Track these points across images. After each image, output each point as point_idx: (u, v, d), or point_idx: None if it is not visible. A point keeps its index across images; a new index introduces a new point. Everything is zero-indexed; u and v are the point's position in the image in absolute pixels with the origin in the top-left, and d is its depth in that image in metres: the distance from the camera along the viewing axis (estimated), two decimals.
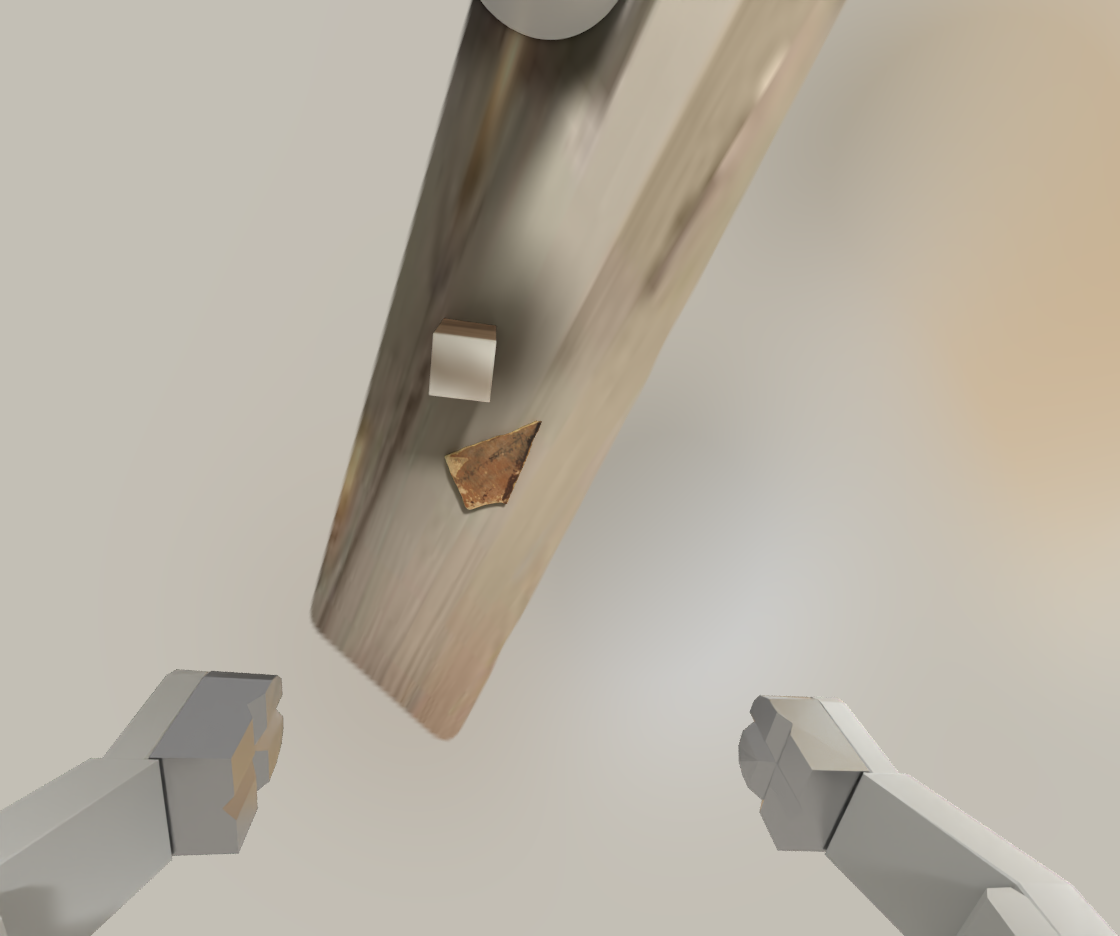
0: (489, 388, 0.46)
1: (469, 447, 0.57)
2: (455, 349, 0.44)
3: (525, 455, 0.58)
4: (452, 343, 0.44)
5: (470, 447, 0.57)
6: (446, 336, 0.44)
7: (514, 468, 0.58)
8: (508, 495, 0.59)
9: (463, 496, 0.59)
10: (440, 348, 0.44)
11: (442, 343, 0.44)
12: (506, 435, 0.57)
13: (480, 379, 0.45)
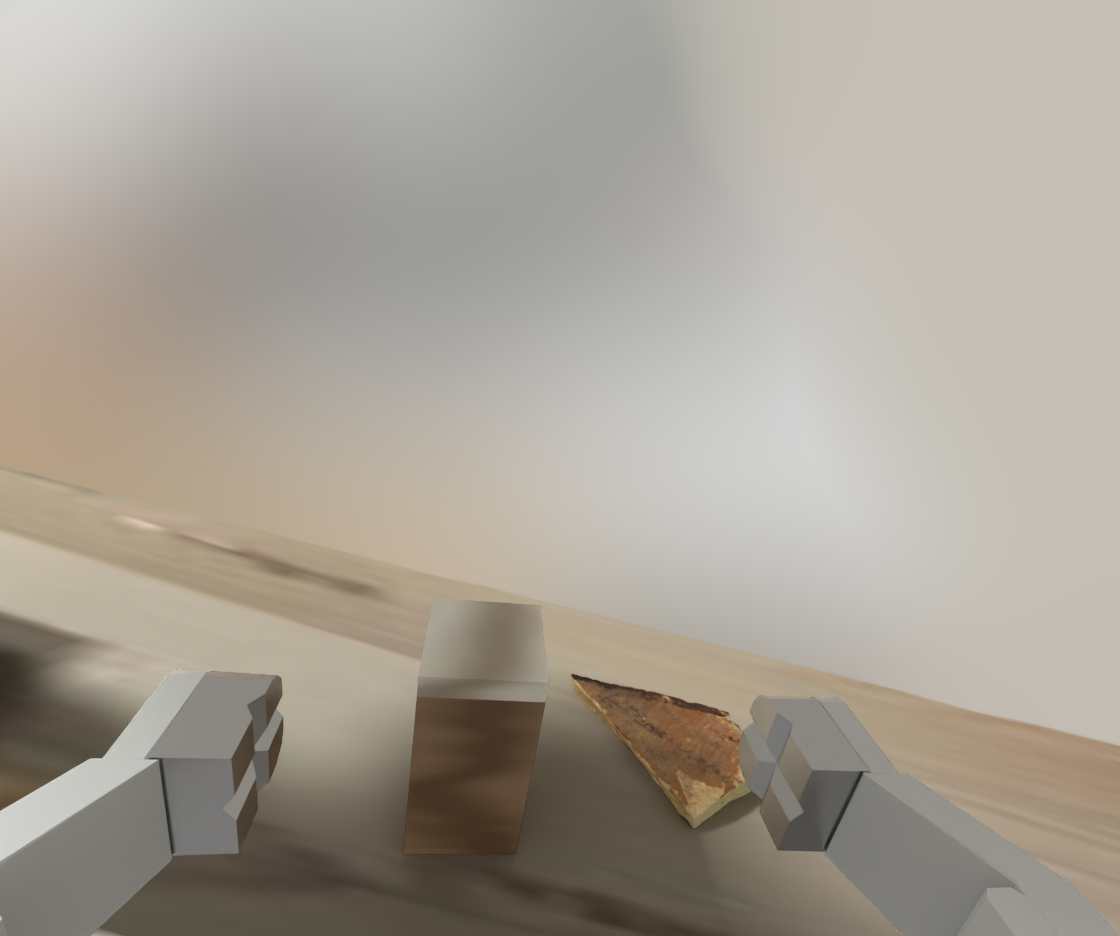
0: (515, 605, 0.26)
1: (655, 772, 0.29)
2: (449, 645, 0.23)
3: (633, 689, 0.35)
4: (437, 649, 0.22)
5: (654, 769, 0.29)
6: (424, 657, 0.22)
7: (662, 701, 0.34)
8: (712, 708, 0.34)
9: None
10: (448, 665, 0.22)
11: (438, 662, 0.22)
12: (610, 716, 0.32)
13: (501, 615, 0.25)
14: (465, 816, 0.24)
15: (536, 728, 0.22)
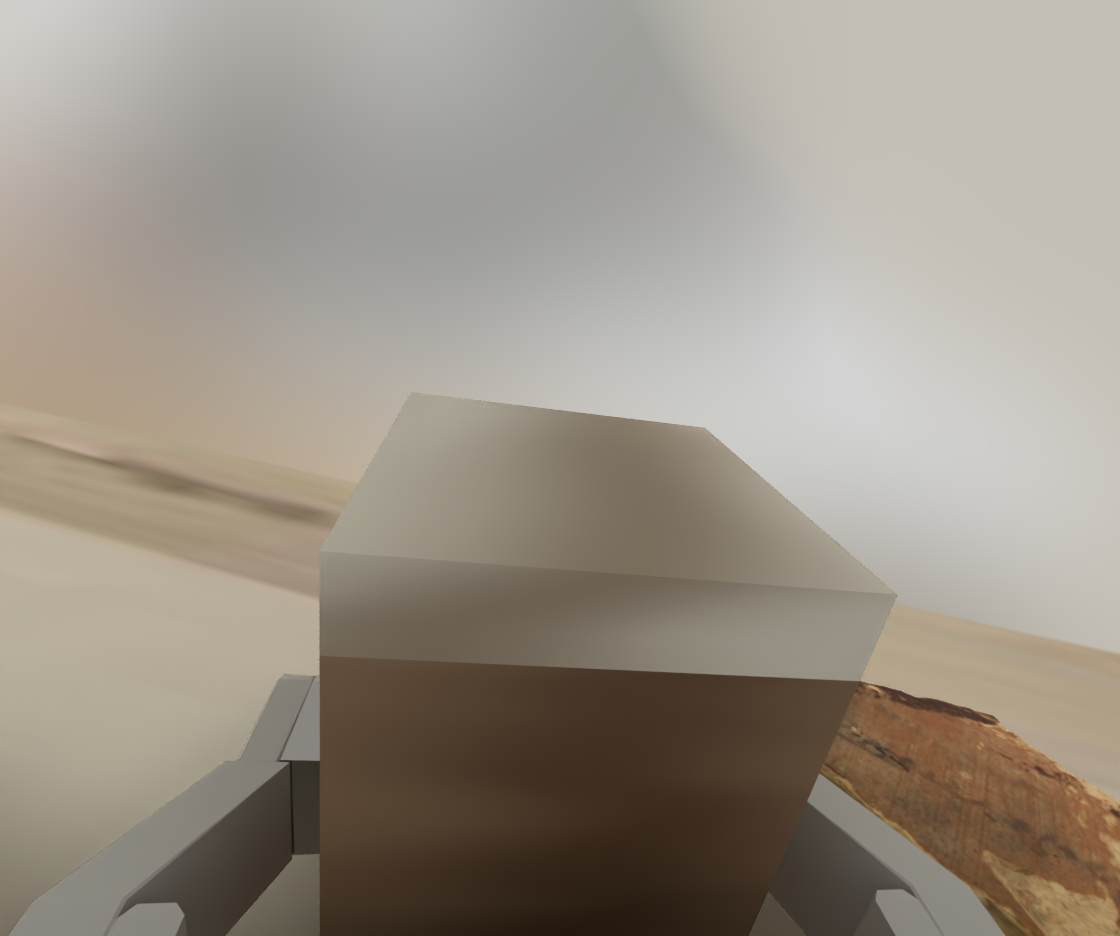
0: (641, 422, 0.09)
1: (933, 856, 0.13)
2: (463, 473, 0.06)
3: None
4: (419, 479, 0.06)
5: (929, 850, 0.13)
6: (360, 495, 0.05)
7: (870, 695, 0.17)
8: (963, 709, 0.18)
9: None
10: (463, 521, 0.05)
11: (420, 513, 0.05)
12: None
13: (613, 432, 0.08)
14: None
15: (799, 784, 0.06)
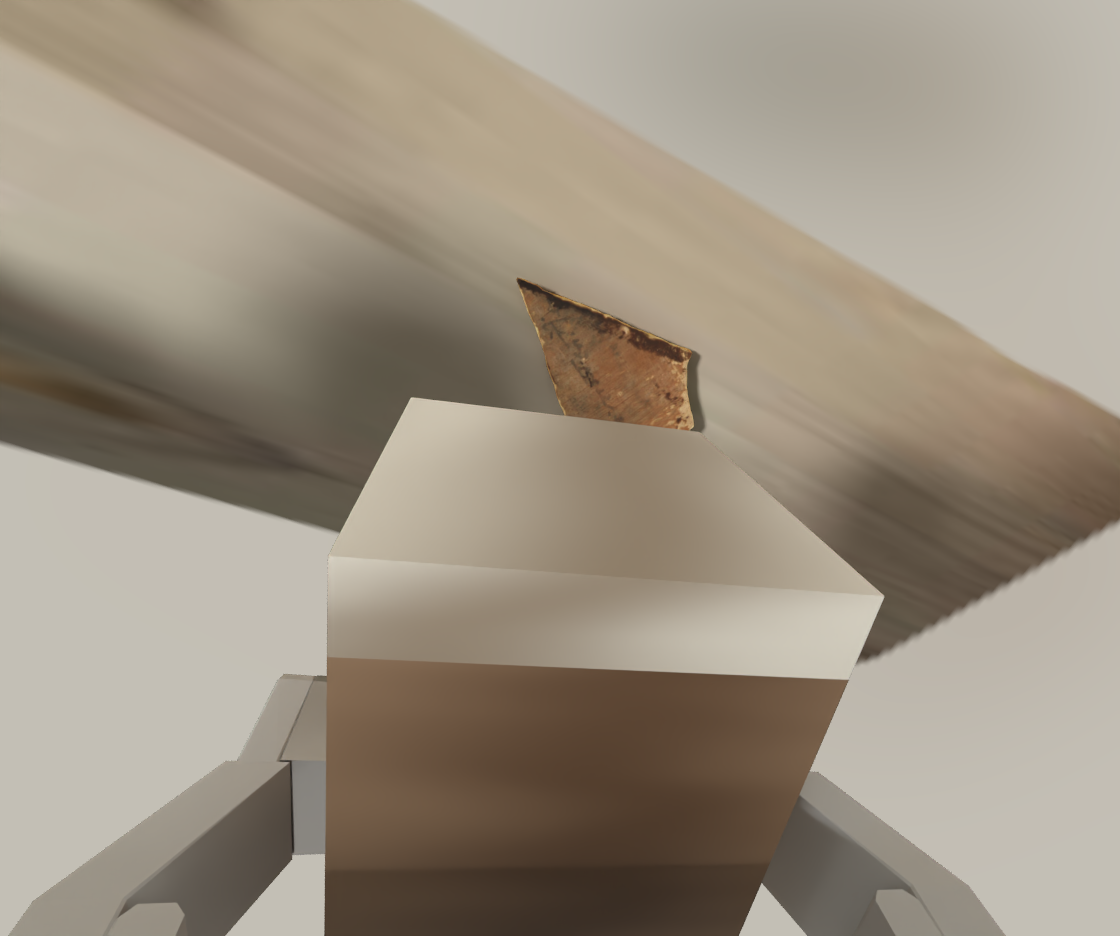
0: (637, 426, 0.10)
1: None
2: (464, 478, 0.06)
3: (589, 313, 0.28)
4: (422, 484, 0.06)
5: None
6: (365, 501, 0.05)
7: (616, 336, 0.29)
8: (673, 348, 0.29)
9: None
10: (464, 527, 0.05)
11: (424, 518, 0.05)
12: (546, 351, 0.29)
13: (609, 437, 0.09)
14: None
15: (791, 779, 0.06)
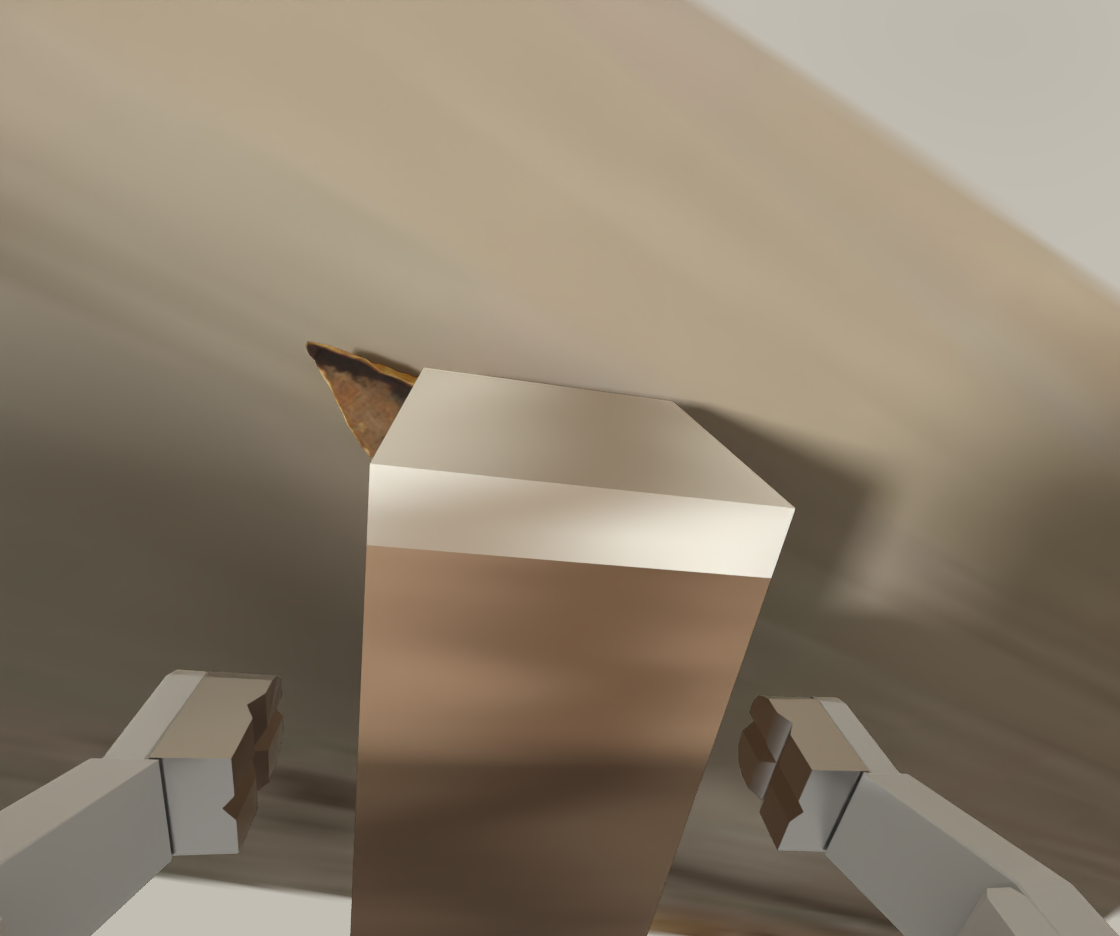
0: (618, 395, 0.11)
1: None
2: (470, 423, 0.08)
3: None
4: (436, 425, 0.07)
5: None
6: (393, 434, 0.07)
7: None
8: None
9: None
10: (471, 452, 0.07)
11: (439, 446, 0.07)
12: None
13: (592, 402, 0.10)
14: (509, 909, 0.09)
15: (729, 663, 0.08)
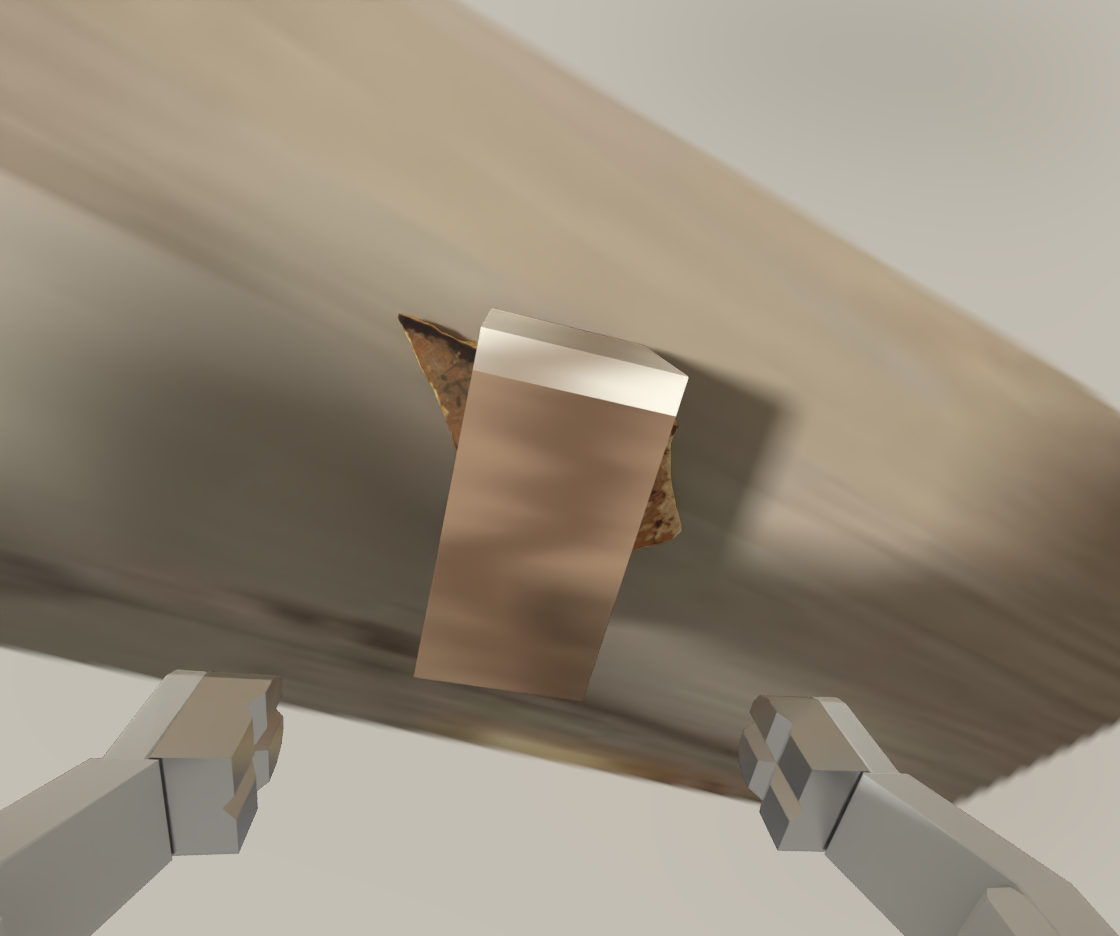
0: (610, 337, 0.18)
1: None
2: (524, 327, 0.14)
3: None
4: (506, 324, 0.14)
5: None
6: (486, 322, 0.13)
7: None
8: None
9: (637, 546, 0.21)
10: (526, 334, 0.13)
11: (510, 329, 0.13)
12: (451, 425, 0.19)
13: (593, 335, 0.17)
14: (516, 620, 0.15)
15: (652, 466, 0.14)
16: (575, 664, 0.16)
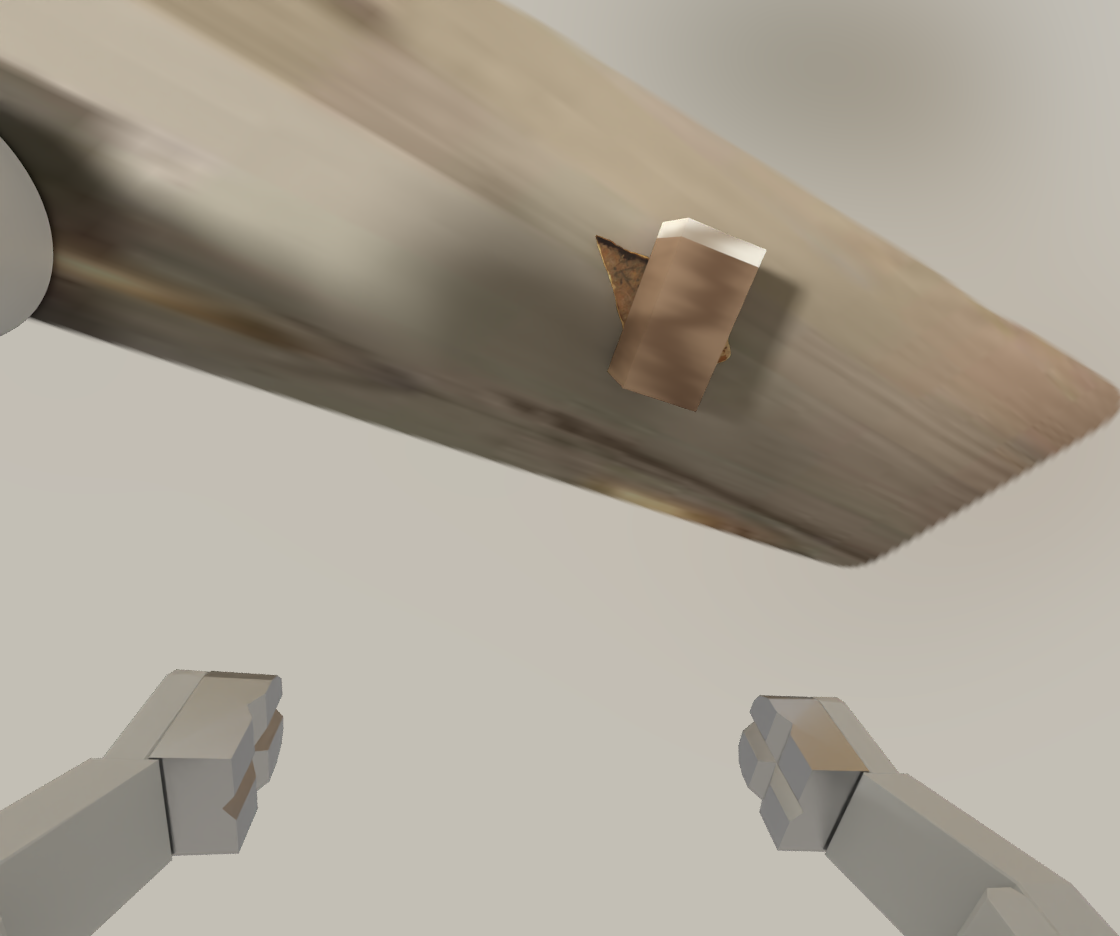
0: None
1: None
2: None
3: None
4: None
5: None
6: (683, 219, 0.31)
7: None
8: None
9: None
10: None
11: None
12: (616, 294, 0.37)
13: None
14: (675, 362, 0.33)
15: (745, 290, 0.32)
16: (696, 390, 0.34)
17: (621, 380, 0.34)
